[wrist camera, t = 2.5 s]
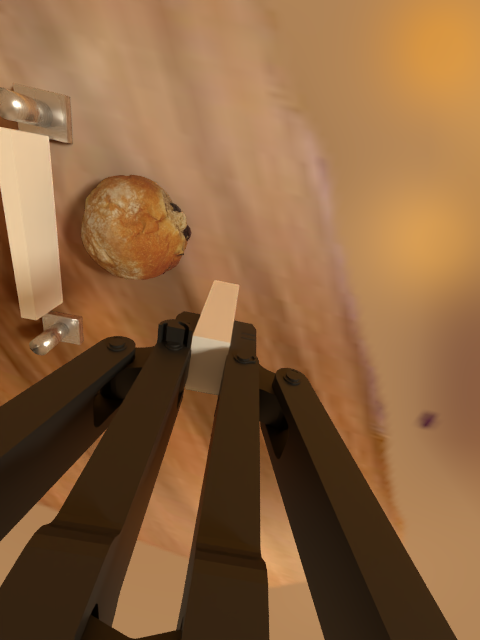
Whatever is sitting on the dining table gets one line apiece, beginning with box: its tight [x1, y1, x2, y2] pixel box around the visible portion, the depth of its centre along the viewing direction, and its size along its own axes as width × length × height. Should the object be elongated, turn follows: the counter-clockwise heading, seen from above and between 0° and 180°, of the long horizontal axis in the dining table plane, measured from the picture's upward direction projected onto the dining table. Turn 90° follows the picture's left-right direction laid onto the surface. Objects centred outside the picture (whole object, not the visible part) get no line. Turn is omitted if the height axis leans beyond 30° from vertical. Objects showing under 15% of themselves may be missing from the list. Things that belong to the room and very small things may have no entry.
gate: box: [0, 127, 63, 320], centre depth 28 cm, size 2×17×5 cm, turn 168°
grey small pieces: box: [0, 83, 83, 355], centre depth 29 cm, size 4×26×5 cm, turn 168°
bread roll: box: [81, 175, 191, 280], centre depth 29 cm, size 10×10×8 cm
